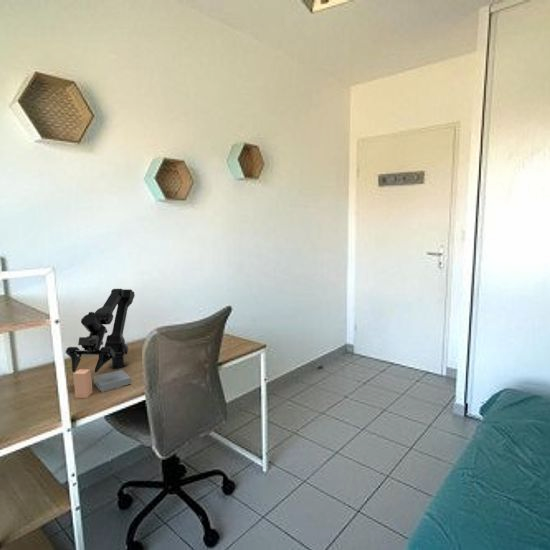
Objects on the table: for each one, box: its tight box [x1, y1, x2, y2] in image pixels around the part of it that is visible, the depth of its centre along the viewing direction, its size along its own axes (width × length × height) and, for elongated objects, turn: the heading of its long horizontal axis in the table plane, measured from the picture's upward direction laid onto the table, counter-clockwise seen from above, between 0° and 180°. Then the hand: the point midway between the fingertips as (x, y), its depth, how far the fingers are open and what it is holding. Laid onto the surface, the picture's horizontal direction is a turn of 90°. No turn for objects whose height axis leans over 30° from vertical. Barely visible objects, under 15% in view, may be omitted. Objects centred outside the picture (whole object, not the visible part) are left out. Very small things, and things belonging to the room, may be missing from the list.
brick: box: [72, 368, 93, 399], centre depth 155 cm, size 5×5×10 cm
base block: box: [93, 369, 132, 393], centre depth 166 cm, size 12×12×3 cm
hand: (84, 372), depth 156 cm, fingers open, 9 cm apart
